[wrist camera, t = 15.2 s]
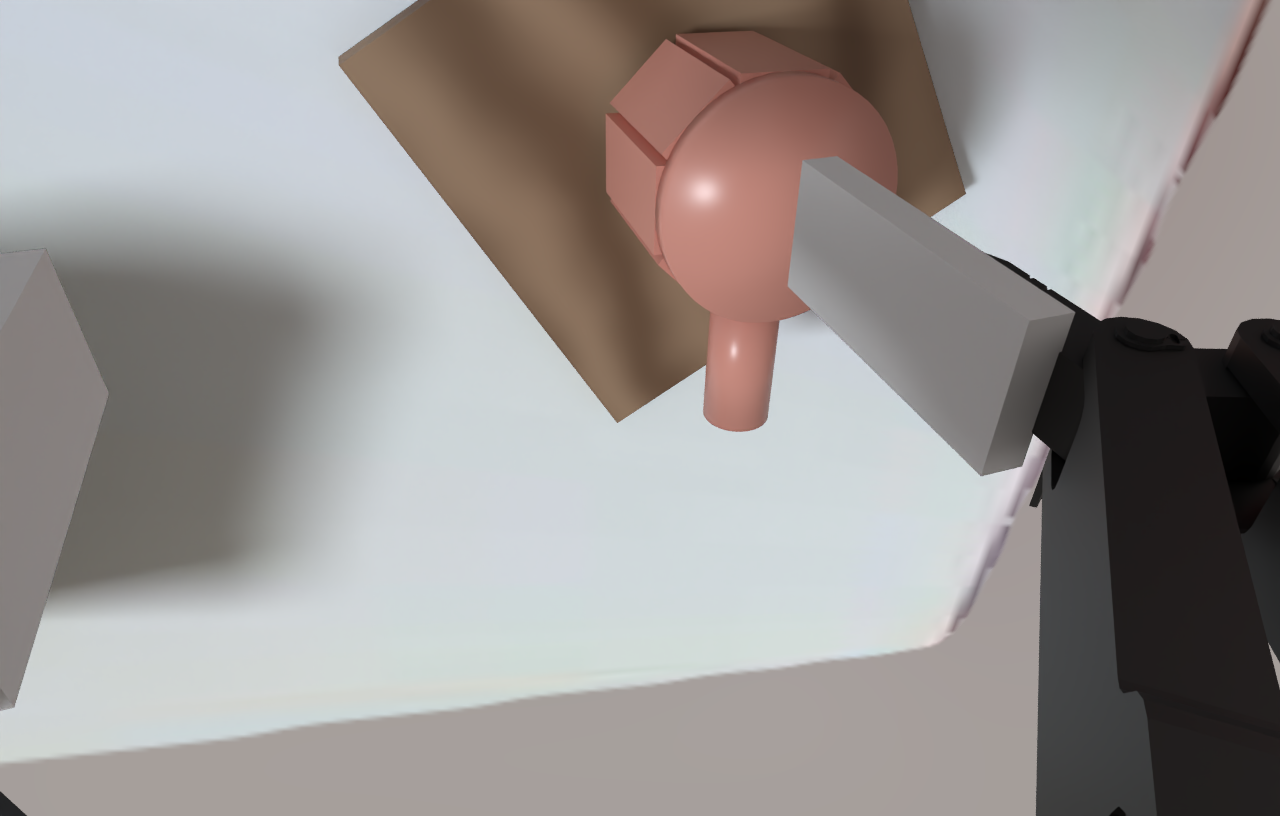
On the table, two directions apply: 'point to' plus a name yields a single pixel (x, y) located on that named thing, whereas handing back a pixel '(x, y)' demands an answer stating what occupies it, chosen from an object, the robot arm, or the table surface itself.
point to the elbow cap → (733, 187)
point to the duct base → (576, 148)
